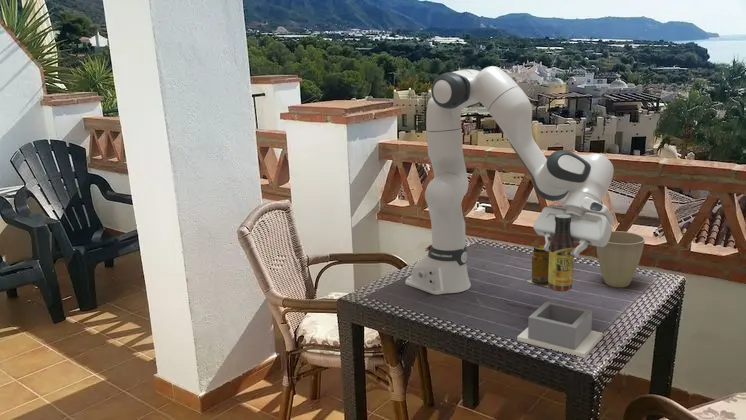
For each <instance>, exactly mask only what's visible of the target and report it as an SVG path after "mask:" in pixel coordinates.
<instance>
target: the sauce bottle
mask: <svg viewBox="0 0 746 420" xmlns="http://www.w3.org/2000/svg"><path fill="white" fill-rule="evenodd" d="M555 222H556V224H555V233H554V235H553V236H552V238H551V240H550V249H549V269H548V282H549V283H548V286H549V287H548V288H549V289H550V290H552V291H554V292H555V291H556V292H567V291H571V289H572V288H573V282H574V262H575V257H572V256H571V255H570V252H571V251H572V248H575V246H574V242H573V239H572V237H571V234H570V223H571V216H570V215H566V214H558V215H555Z"/></svg>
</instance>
